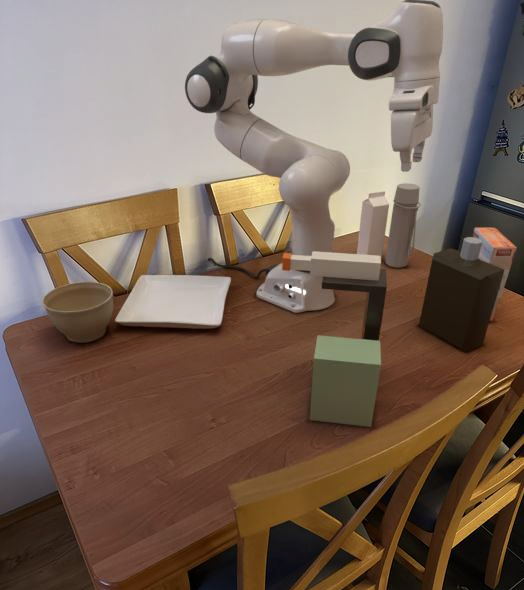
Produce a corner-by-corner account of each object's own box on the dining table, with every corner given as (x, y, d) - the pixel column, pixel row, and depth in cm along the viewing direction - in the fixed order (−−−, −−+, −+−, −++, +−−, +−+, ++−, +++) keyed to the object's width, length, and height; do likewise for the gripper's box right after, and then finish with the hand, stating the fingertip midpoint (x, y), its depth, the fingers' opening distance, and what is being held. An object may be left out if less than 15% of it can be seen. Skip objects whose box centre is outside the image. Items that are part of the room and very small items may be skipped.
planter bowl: (127, 339, 122) (120, 300, 116) (61, 358, 115) (49, 318, 109) (109, 312, 134) (102, 275, 128) (47, 327, 127) (36, 290, 121)
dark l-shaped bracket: (314, 386, 106) (321, 281, 92) (317, 365, 113) (324, 264, 99) (370, 392, 104) (387, 286, 90) (370, 370, 111) (385, 268, 97)
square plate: (115, 333, 124) (112, 320, 122) (142, 285, 147) (140, 273, 145) (221, 335, 123) (220, 322, 121) (232, 286, 146) (231, 274, 144)
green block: (309, 420, 97) (313, 358, 89) (313, 394, 104) (317, 335, 95) (371, 427, 95) (381, 364, 87) (370, 401, 102) (380, 340, 94)
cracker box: (495, 322, 128) (518, 247, 117) (471, 322, 128) (492, 246, 117) (477, 297, 140) (496, 226, 128) (456, 297, 140) (473, 226, 128)
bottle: (465, 354, 116) (493, 256, 102) (414, 325, 127) (432, 233, 113) (486, 344, 119) (516, 248, 106) (435, 317, 131) (455, 226, 117)
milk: (381, 261, 161) (391, 193, 149) (365, 264, 159) (374, 196, 147) (370, 254, 166) (379, 188, 153) (355, 257, 164) (363, 190, 151)
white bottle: (281, 273, 95) (282, 256, 93) (284, 266, 98) (284, 249, 96) (378, 280, 92) (381, 263, 90) (378, 272, 95) (380, 255, 93)
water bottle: (379, 263, 160) (389, 185, 146) (395, 257, 163) (407, 181, 149) (401, 273, 153) (414, 192, 139) (417, 267, 157) (432, 188, 143)
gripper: (413, 91, 109) (409, 156, 116) (386, 101, 94) (383, 176, 101) (442, 89, 106) (437, 156, 113) (419, 100, 91) (414, 176, 98)
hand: (411, 166), depth 107 cm, fingers open, 8 cm apart
